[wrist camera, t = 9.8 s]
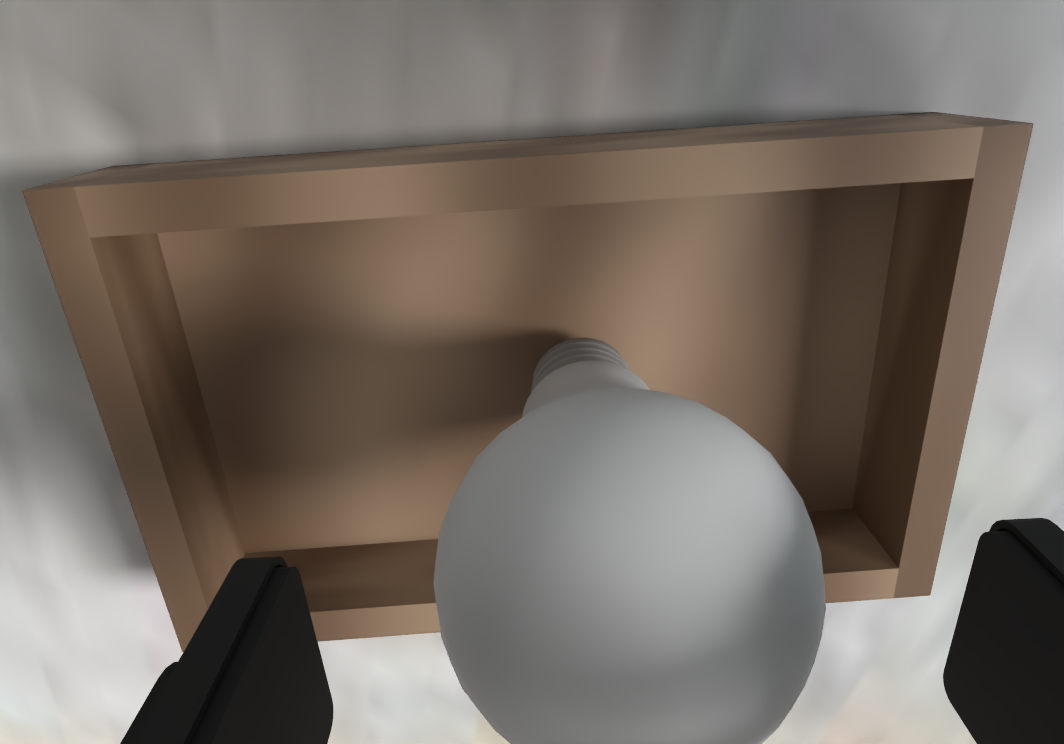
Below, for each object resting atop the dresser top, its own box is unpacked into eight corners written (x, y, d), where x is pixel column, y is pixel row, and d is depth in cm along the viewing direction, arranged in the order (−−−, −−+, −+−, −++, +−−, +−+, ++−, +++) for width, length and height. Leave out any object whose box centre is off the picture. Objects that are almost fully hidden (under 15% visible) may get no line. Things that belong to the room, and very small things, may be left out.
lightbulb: (738, 372, 19) (997, 740, 9) (568, 503, 20) (627, 939, 11) (589, 206, 17) (709, 442, 7) (414, 366, 18) (306, 744, 8)
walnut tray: (934, 112, 17) (1033, 123, 14) (867, 518, 22) (930, 595, 19) (112, 166, 17) (22, 190, 14) (229, 565, 22) (182, 651, 19)
